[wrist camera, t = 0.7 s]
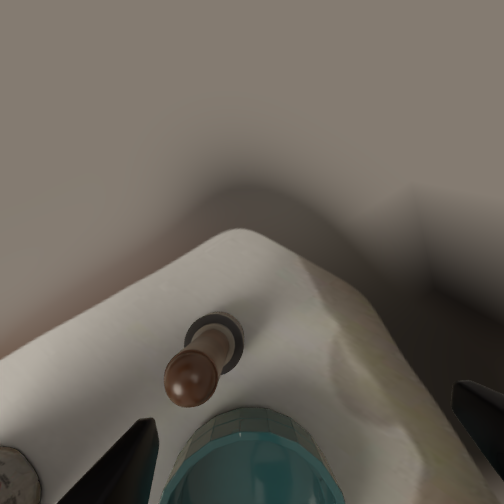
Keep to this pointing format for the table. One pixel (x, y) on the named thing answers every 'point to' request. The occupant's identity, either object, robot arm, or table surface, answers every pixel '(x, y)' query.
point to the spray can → (17, 479)
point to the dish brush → (204, 359)
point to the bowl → (251, 463)
